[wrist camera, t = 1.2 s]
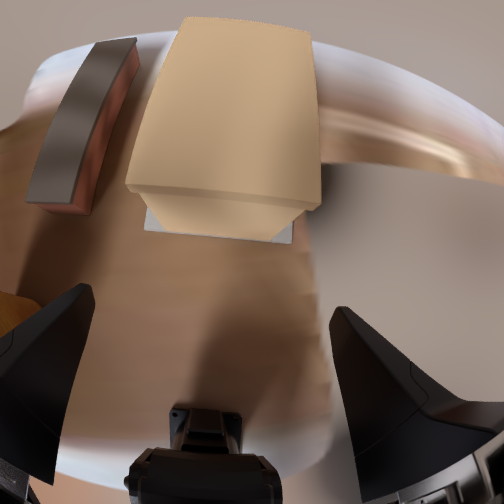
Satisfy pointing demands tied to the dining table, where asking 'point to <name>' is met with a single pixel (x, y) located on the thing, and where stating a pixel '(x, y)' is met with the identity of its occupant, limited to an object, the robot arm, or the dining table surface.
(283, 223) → the kraft carton
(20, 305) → the disposable coffee cup
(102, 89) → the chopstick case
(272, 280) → the dining table surface
